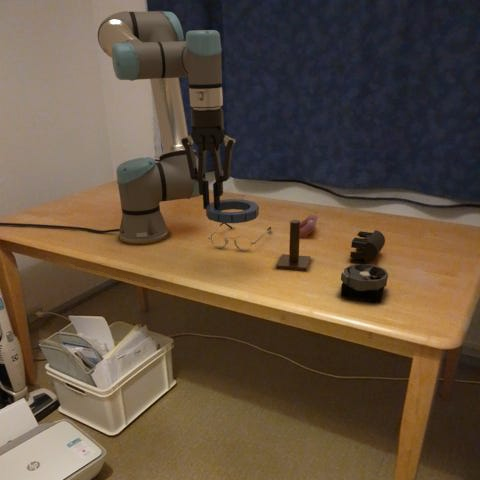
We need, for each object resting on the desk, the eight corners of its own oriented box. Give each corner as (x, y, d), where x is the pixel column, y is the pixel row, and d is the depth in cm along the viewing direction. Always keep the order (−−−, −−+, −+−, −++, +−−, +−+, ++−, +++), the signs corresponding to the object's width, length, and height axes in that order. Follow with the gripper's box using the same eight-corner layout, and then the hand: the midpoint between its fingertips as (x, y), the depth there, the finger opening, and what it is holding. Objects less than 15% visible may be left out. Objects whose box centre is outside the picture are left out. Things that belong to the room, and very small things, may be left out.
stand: (276, 268, 128) (277, 225, 122) (282, 257, 135) (282, 215, 129) (306, 271, 126) (308, 227, 120) (310, 259, 133) (312, 217, 127)
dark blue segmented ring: (199, 221, 118) (199, 212, 117) (215, 205, 129) (215, 197, 128) (251, 225, 115) (251, 216, 114) (262, 208, 126) (263, 200, 125)
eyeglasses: (204, 248, 143) (203, 232, 140) (227, 228, 158) (227, 213, 155) (255, 253, 138) (255, 237, 135) (274, 232, 153) (274, 217, 150)
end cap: (375, 267, 128) (378, 243, 124) (349, 263, 130) (351, 239, 127) (383, 254, 135) (386, 231, 132) (358, 250, 138) (360, 227, 135)
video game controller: (308, 243, 148) (319, 224, 144) (295, 236, 148) (306, 217, 144) (310, 232, 156) (321, 214, 153) (298, 226, 156) (308, 207, 152)
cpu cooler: (390, 265, 114) (385, 283, 106) (387, 287, 117) (382, 306, 109) (346, 260, 117) (338, 277, 109) (344, 281, 120) (336, 299, 112)
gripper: (169, 109, 110) (178, 210, 122) (233, 110, 106) (236, 214, 118) (181, 105, 116) (189, 202, 128) (242, 106, 112) (244, 205, 124)
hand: (211, 207), depth 123 cm, fingers closed on dark blue segmented ring, 2 cm apart
